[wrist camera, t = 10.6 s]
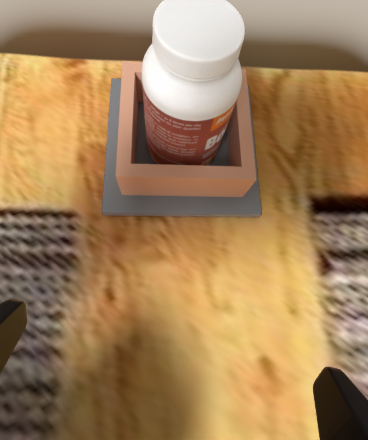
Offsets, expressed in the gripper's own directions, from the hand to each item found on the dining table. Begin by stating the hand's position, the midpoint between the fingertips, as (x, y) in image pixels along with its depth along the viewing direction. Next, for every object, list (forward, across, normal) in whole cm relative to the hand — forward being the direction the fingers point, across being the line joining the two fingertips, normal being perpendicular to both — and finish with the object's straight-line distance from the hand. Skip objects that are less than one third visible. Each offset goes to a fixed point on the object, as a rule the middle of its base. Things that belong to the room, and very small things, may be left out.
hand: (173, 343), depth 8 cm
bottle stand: (+20, +2, -1) cm, 20 cm away
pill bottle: (+19, +2, -1) cm, 19 cm away
